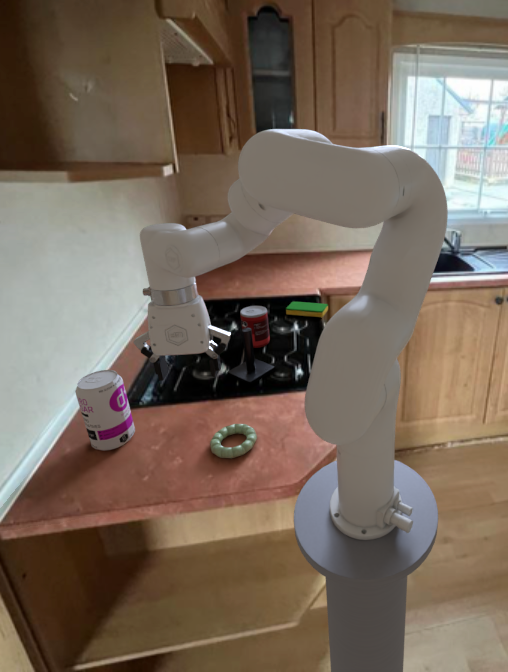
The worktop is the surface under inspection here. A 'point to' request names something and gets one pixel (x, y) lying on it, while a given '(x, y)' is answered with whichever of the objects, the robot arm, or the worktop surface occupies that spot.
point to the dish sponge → (307, 309)
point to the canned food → (256, 324)
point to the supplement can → (105, 409)
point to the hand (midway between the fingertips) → (189, 374)
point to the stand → (250, 363)
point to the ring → (237, 450)
